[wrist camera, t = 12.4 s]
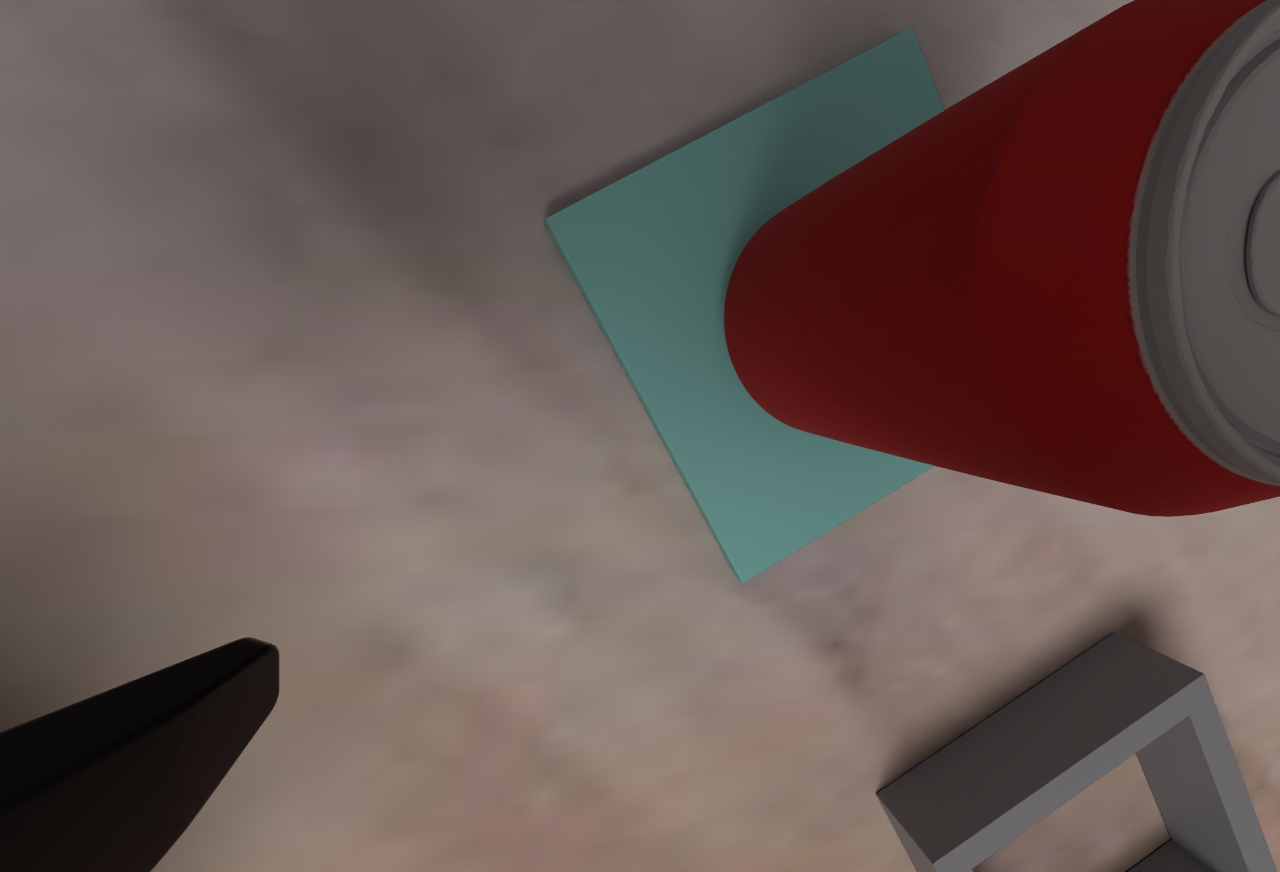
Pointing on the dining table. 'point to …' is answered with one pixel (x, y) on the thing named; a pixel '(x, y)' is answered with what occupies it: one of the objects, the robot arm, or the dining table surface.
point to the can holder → (1086, 767)
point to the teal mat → (696, 290)
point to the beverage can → (1051, 274)
